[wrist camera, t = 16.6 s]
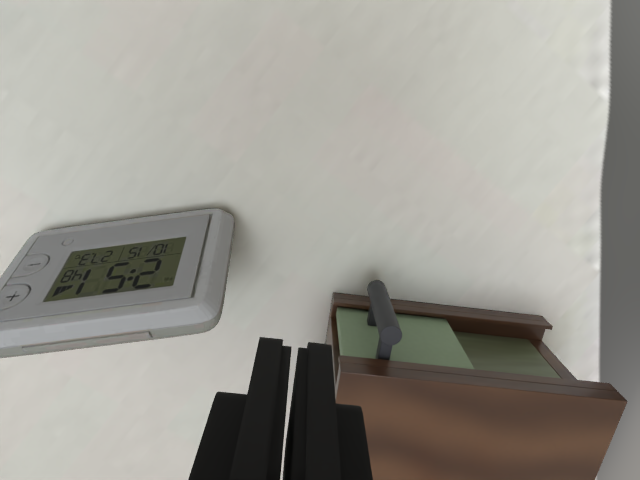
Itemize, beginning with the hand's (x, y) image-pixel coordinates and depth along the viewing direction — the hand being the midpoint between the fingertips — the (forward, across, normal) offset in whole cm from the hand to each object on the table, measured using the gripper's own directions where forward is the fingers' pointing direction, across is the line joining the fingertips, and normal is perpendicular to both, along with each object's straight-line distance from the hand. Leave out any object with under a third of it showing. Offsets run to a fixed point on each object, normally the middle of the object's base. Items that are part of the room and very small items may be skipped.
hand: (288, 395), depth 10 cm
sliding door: (+24, -8, +8) cm, 27 cm away
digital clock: (+25, +12, +7) cm, 29 cm away
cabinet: (+25, -12, +16) cm, 32 cm away
